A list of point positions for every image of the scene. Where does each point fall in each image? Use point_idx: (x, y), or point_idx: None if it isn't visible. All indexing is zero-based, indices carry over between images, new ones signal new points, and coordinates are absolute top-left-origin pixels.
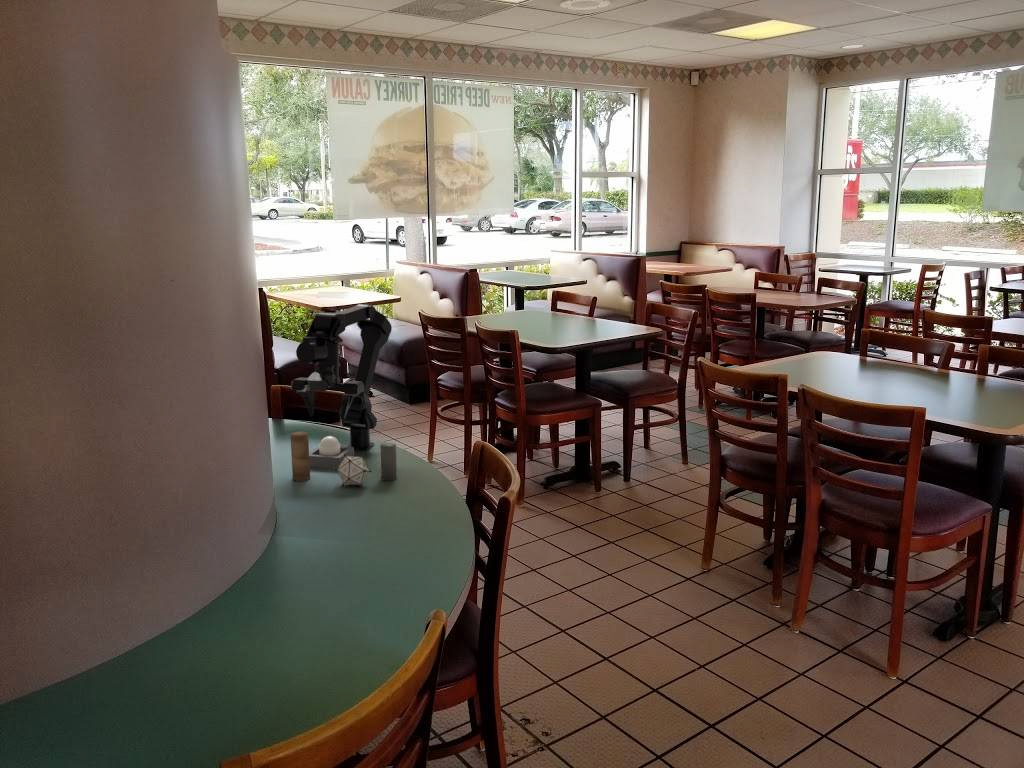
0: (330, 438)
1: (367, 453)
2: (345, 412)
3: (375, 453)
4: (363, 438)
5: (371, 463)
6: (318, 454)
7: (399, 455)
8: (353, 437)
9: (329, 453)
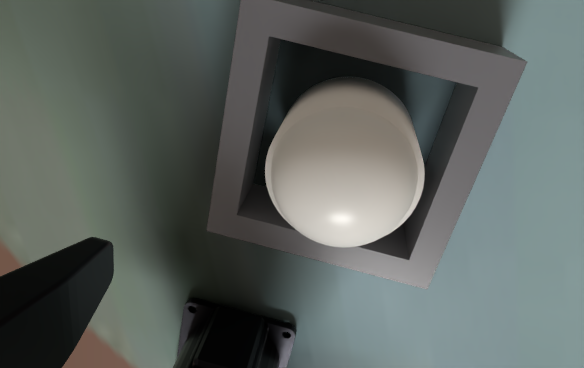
0: (322, 174)
1: (177, 262)
2: (2, 285)
3: (138, 259)
4: (189, 358)
5: (109, 103)
6: (426, 189)
7: (17, 221)
8: (234, 358)
9: (335, 88)
